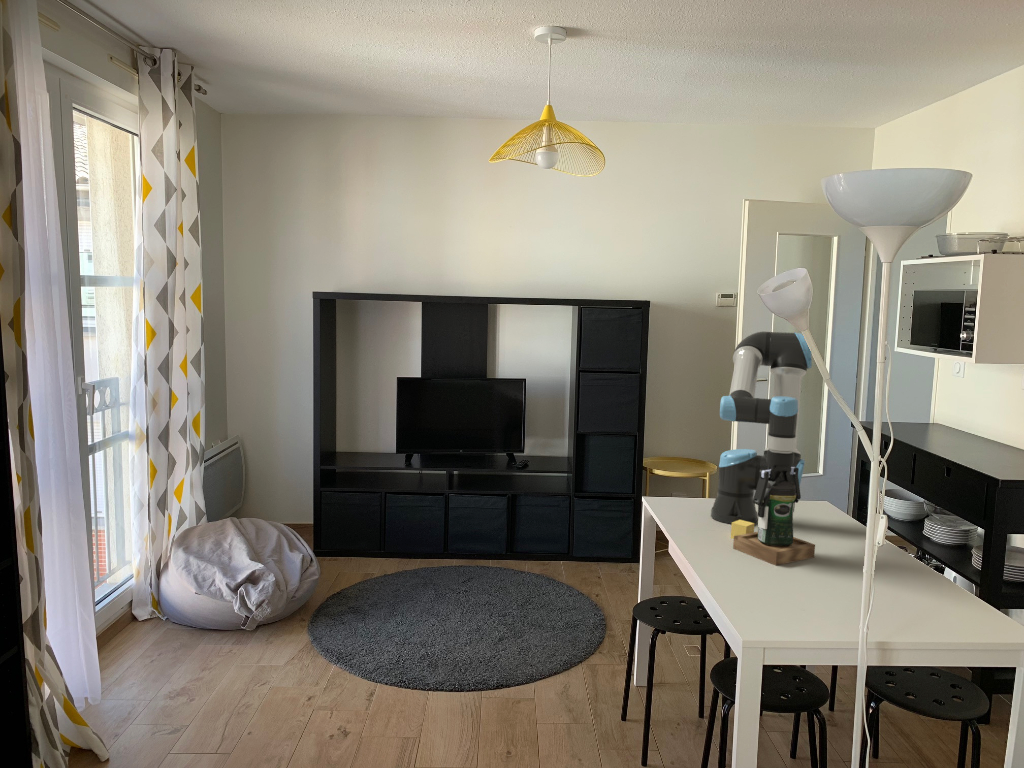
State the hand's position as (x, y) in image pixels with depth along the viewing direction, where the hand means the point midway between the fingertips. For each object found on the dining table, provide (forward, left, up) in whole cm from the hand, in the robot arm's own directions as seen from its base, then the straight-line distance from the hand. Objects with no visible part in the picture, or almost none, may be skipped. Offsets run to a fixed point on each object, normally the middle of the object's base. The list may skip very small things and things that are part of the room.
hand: (775, 525), depth 230 cm
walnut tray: (0, 0, -8) cm, 8 cm away
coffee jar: (0, 0, -5) cm, 5 cm away
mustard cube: (-2, -14, -8) cm, 16 cm away
